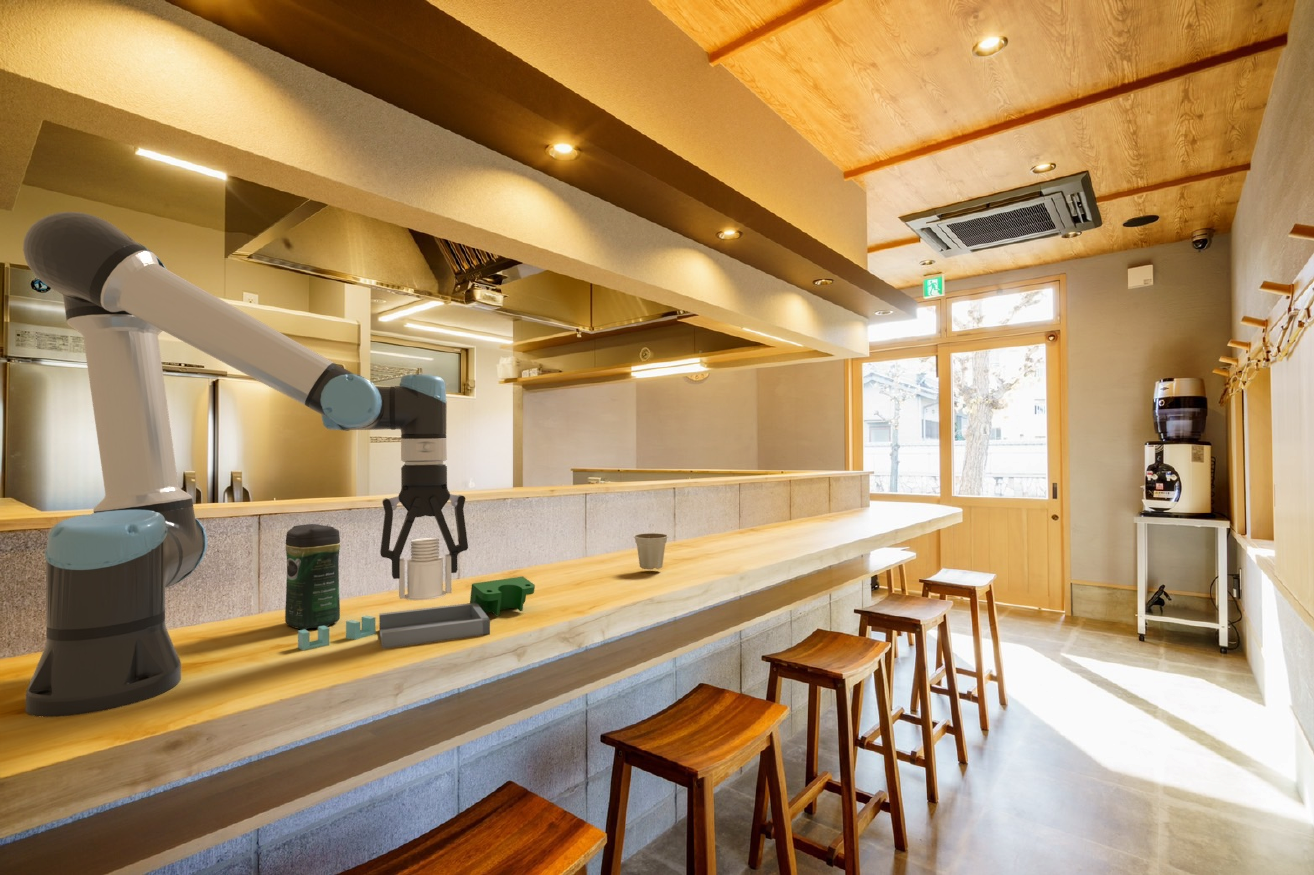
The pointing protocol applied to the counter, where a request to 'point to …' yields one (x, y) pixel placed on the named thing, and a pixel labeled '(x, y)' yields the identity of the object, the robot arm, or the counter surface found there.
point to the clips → (351, 633)
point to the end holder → (432, 625)
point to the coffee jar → (312, 576)
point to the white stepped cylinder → (425, 570)
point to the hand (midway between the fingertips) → (425, 594)
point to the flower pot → (651, 549)
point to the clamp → (501, 594)
